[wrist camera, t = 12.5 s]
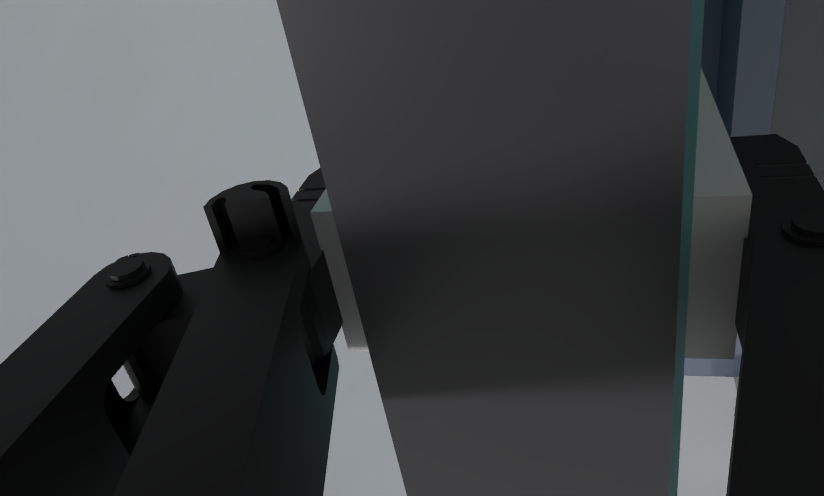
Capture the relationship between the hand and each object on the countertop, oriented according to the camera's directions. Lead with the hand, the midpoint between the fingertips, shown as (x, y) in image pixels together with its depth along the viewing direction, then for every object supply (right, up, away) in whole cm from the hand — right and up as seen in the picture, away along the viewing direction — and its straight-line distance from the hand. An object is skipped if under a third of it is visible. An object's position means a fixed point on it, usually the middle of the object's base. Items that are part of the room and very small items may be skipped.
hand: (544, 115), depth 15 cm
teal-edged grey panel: (0, +1, +1) cm, 1 cm away
